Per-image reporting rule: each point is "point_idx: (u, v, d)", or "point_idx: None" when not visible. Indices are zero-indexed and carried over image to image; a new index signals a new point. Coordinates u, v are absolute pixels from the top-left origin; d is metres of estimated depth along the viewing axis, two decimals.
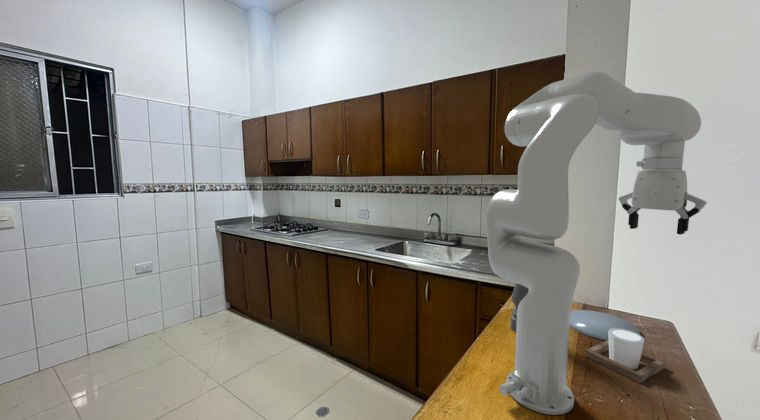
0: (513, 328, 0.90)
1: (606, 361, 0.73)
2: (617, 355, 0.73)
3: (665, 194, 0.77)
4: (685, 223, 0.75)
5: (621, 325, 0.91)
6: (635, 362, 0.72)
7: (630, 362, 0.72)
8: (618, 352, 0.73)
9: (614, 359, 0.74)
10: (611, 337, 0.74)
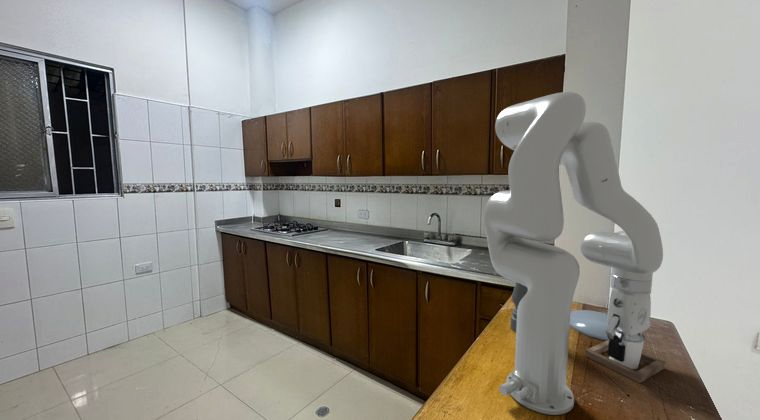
0: (513, 328, 0.90)
1: (606, 361, 0.73)
2: None
3: (646, 315, 0.72)
4: None
5: None
6: (635, 362, 0.72)
7: (630, 362, 0.72)
8: None
9: (614, 359, 0.74)
10: None
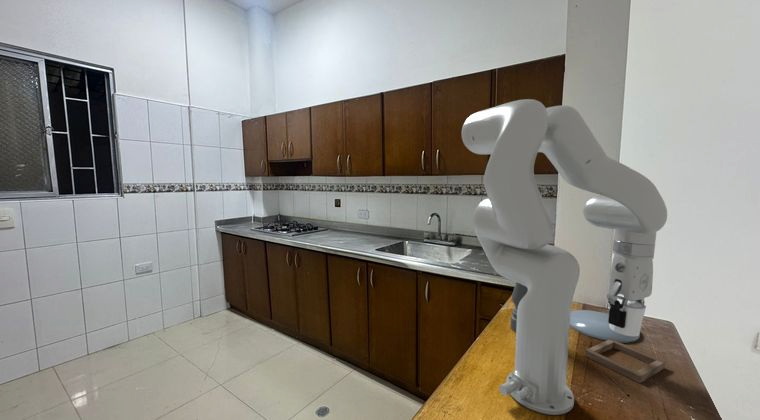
0: (513, 328, 0.90)
1: (606, 361, 0.73)
2: None
3: (648, 282, 0.71)
4: None
5: None
6: (636, 329, 0.71)
7: (631, 329, 0.71)
8: None
9: (614, 327, 0.73)
10: None
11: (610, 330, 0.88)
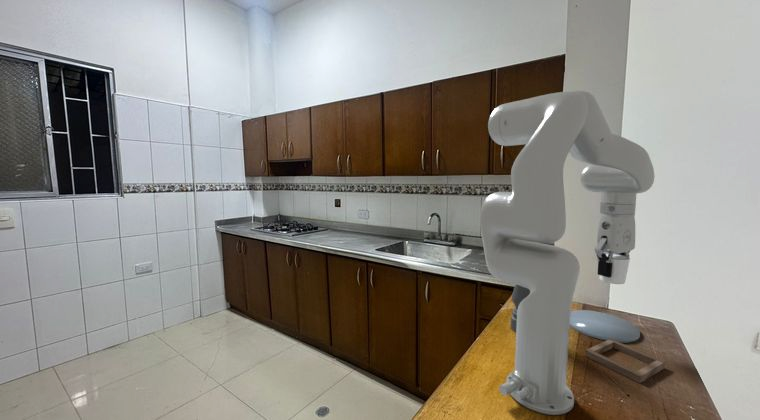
0: (513, 328, 0.90)
1: (606, 361, 0.73)
2: None
3: (631, 237, 0.82)
4: None
5: (621, 325, 0.91)
6: (621, 278, 0.82)
7: (617, 278, 0.82)
8: None
9: (603, 277, 0.84)
10: None
11: (610, 330, 0.88)
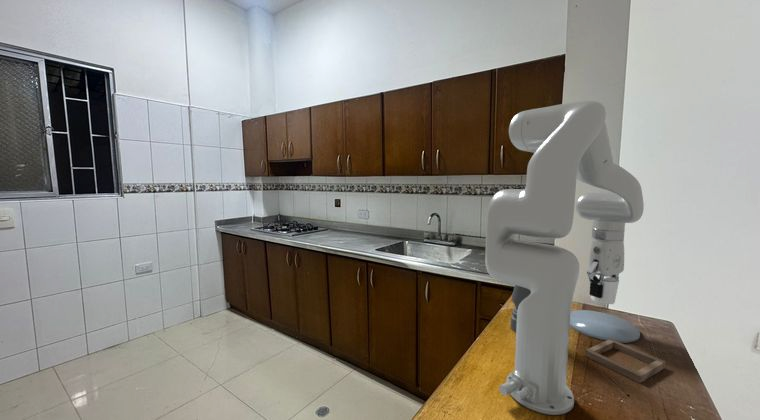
0: (513, 328, 0.90)
1: (606, 361, 0.73)
2: None
3: (620, 260, 0.88)
4: None
5: (621, 325, 0.91)
6: (611, 298, 0.88)
7: (607, 299, 0.88)
8: None
9: (595, 297, 0.91)
10: None
11: (610, 330, 0.88)
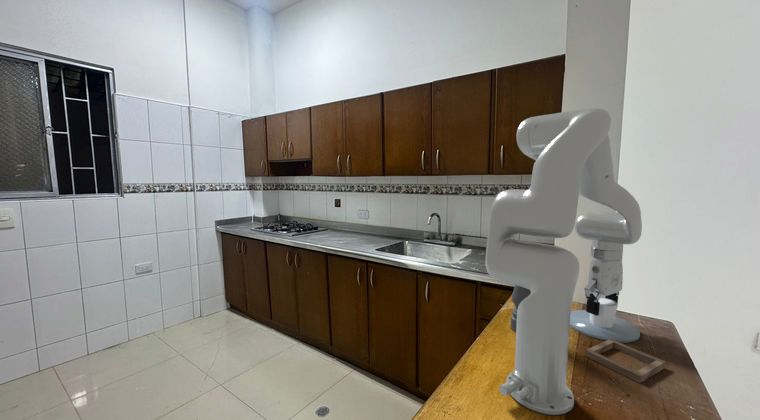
0: (513, 328, 0.90)
1: (606, 361, 0.73)
2: (596, 317, 0.91)
3: (618, 280, 0.89)
4: None
5: (621, 325, 0.91)
6: (610, 322, 0.89)
7: (606, 322, 0.89)
8: None
9: (593, 321, 0.91)
10: None
11: (610, 330, 0.88)
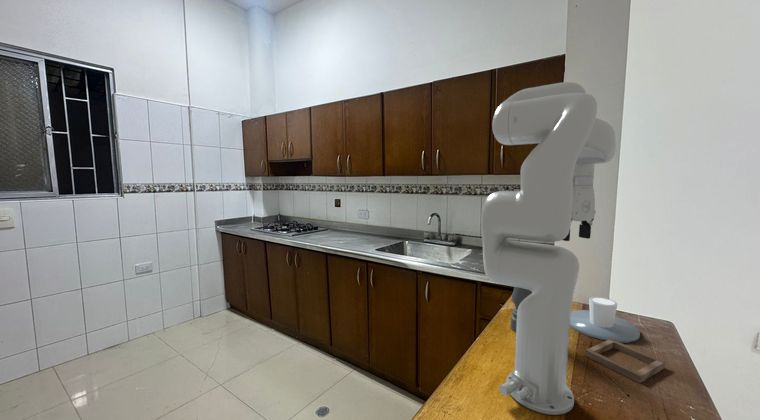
0: (513, 328, 0.90)
1: (606, 361, 0.73)
2: (596, 317, 0.91)
3: (590, 207, 0.91)
4: None
5: (621, 325, 0.91)
6: (610, 322, 0.89)
7: (606, 322, 0.89)
8: (596, 314, 0.90)
9: (593, 321, 0.91)
10: (591, 303, 0.91)
11: (610, 330, 0.88)
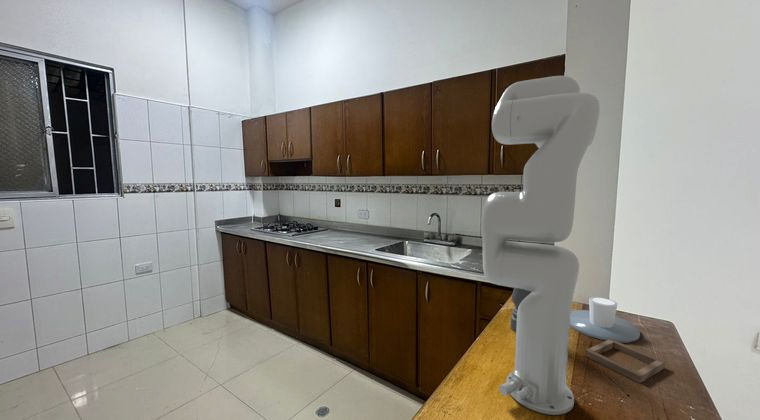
0: (513, 328, 0.90)
1: (606, 361, 0.73)
2: (596, 317, 0.91)
3: None
4: None
5: (621, 325, 0.91)
6: (610, 322, 0.89)
7: (606, 322, 0.89)
8: (597, 315, 0.90)
9: (593, 321, 0.91)
10: (591, 303, 0.91)
11: (610, 330, 0.88)
